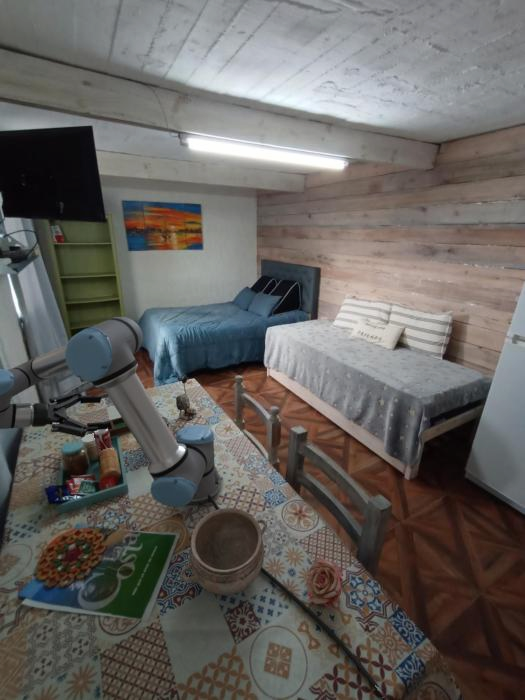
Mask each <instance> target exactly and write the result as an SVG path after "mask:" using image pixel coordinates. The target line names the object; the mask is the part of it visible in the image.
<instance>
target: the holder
mask: <svg viewBox="0 0 525 700" xmlns="http://www.w3.org/2000/svg"><path fill="white" fill-rule="evenodd" d="M104 422H108V423H109V424H108V427H107V428H108V430H109V433H110V438H113V437H115V436H119V435H122V434H125V433H127V432H131V431H130V430H129V428H128V426H127V425H126V423H125V422H124V420H123V419H122V417H121V416H120V417H116V418H113V419H110V420H106V421H104ZM92 433H95V432H94V431H91V434H92Z"/></svg>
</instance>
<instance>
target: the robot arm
mask: <svg viewBox="0 0 525 700" xmlns="http://www.w3.org/2000/svg"><path fill="white" fill-rule="evenodd" d="M143 335H144V334H143V331H142V328H141V326H140V325H139V324H138V323H137V322H136V321H135V320H133V319H132V318H129V317H125V316H113V317H110V318H108V319H106V320H104V321H101V322H99V323H97V324H94V325H91V326H89V327H86V328H84V329H83V330H81V331H79V332H77V333H75V334H74V335H73V336H71V338H70V339H69V340H68V342H67V343H66V344H65V345H63V346H61V347H58V348H56V349H52V350H51V351H48V352H46V353H44V354H42V355H39V356H36V357H33V358H30V359H28V360H27V361H25V362H23V363H21V364H18V365H17V366H15V367H12V368H10V369H4V368H0V430H8V429H23V428H25V429H27V428H30V427H32V428H40V427H41V428H42V427H46V426H48V425H51V427H50V432H51V433H62V434H66V435H69V436H74V437H79V438H85V436H86V434H87V432H92V431H97V430H101V429H107V427H108V424H109V423H108V422H105V421H101V422H87V424H85V423H83V422H81V421H77V420H75V419H73V418H71V417H69V415H68V413H67V410H68V409H69V408H71V407H72V406H75V405H77V404H78V403H79V402H80V404H100V403H101V401H102V398H103V397H102V395H82V393H81V392H79V391H78V390H77V391H73V392H69V393H66V394H63V395H60V396H57V397H56V396H55V397H49V399H48V403H47V402H35V403H33V404H32V403H31V402H25V403H24V402H23V403H22V402H21V403H11V401H12V398H13V397H15V396H17V395H18V394H20V393H22V392H24V391H26V390H28V389H29V388H31V387H33V386H35V385H37V384H39V383H42V382H43V381H46V380H49V379H50V378H53V377H55V376H56V377H57V376H58V375H61V374H64V373H66V372H68V371H70V372H71V373H72V374H73V375H74V376H75V377H77V378H80V380H82V381H84V382H91V384H92V386H93V387H94V388H97V389H102V390H104V392H105V393H106V395H107V396H108V398H109V399H110V402H111V403H112V404H113V406H114V407H115V409H116V411H117V412H118V414H119V415H120V417H122V419H123V420H124V422H125V423H126V425H127V426H128V428H129V430H130V431H129V432H130V433H131V434H132V436H133V438H134V439H135V441H136V442H137V444H138V446H139V447H140V449H141V450H142V452H143V453H144V455H145V456H146V458H147V460H148V462H149V463H148V465H147V471H148V473H149V475H150V476H151V478H152V479H153V481H152V482H151V485H150V494H151V496H152V498H153V499H154V500H155V501H156V502H157V503H159V504H161V505H163V506H167V507H169V508H170V507H171V508H181V507H185V506H186V505H188V504H190V505H191V504H192V505H197V504H203V503H206V502H208V501H210V503H211V505H212V506H213V507H214V509H215V510H218V509H221V508H220V507H219V505H218V504H217V503H216V501H215V500H214V499H213V498H214V497H215V496H217V494H218V493H219V491H220V489H221V485H222V484H221V475H220V474H219V472H218V469H217V467H216V465H215V437H214V432H213V430H212V429H211V428H210V427H208V426H207V425H203V424H189V425H185V426H183V427H181V428H180V429H179V430H178V431H177V432H176V437H175V436H174V435H173V433H172V431H171V430H170V427H169V428H168V426H167V425H166V423H165V421H164V419H163V418H162V414H161V413H160V411H159V408H157V405H156V404H155V403H154V401H153V399H152V397H151V395H150V394H149V392H148V391H147V389H146V387H145V385H144V383H143V382H142V380H141V379H140V377H139V375H138V374H137V370H138V366H139V363H138V362H137V359H136V357H135V356H134V355H135V354H136V353H137V352H138V351H139V350H140V349H141V347H142V345H143V340H144V337H143ZM260 572H261V573H262V574H263V575H264V576H265V577H266V578H268V579H269V580H270V581H271V582H273V584H275V585H276V586H277V587H278V588H279V589H280V590H282V591H283V592H284V593H285V594H286V595H287V596H288V597H290V599H291V600H293V601H294V603H296V604H297V605H298V606H299V607H301V609H303V610H304V611H305V612H306V613H307V614H308V615H309V616H310V617H311V618H312V619H313V620H314V621H315V622H316V623H317V624H318V625H319V626H320V628H322V629H323V630H324V631H325V632H326V633H327V634H328V635H329V636H330V638H331V639H332V640H333V641H334V642H335V643H336V644H337V645H338V646H339V647H340V649H341V650H342V651H343V652H344V653H345V654H346V655H347V657H348V658H349V659H350V660H351V662H352V663H353V664H354V665H355V666H356V667H357V669H358V670H359V671H360V672H361V673H362V675H363V676H364V677H365V679H366V680H367V681H368V682H369V684H370V685H371V686H372V687H373V689H374V690H375V691H376V693H377V694H378V695H379V697H380V698H381V700H385V699H384V698H382V697H383V696H382V695H381V694H380V692H379V691H378V690H377V688H376V687H375V685H376V686H377V685H378V686H379V684H378V683H377V682H376V680H375V679H374V678H373V677H372V675H371V674H370V672H368V670H367V669H366V668H365V666H364V665H363V664H362V662H360V660H358V658H357V657H356V656H355V655H354V653H353V652H352V651H351V650H350V649H349V648H348V646H346V645H345V644H344V642H343V641H342V640H341V639H340V638H339V636H337V635H336V633H334V631H332V629H331V628H330V627H329V626H328V625H327V624H326V623H325V622H324V621H323V620H321V618H320V617H319V616H318V615H316V613H314V611H313V610H312V609H310V607H309V606H307V605H306V604H305V602H303V601H302V600H301V599H299V598H298V597H297V596H296V595H295V594H294V593H293V592H292V591H291V590H289V589H288V588H287V587H286V586H285V585H283V583H281V582H280V581H279V580H278V579H277V578H276V577H274V576H273V575H272V574H271V573H270V572H269V571H267V570H266V569H265V568H264V567H263V566H262V568H261V570H260ZM378 686H377V687H378ZM381 690H382V691H383V689H382V688H381ZM384 694H385V695H386V693H385V692H384ZM387 698H388V699H389V697H388V696H387Z"/></svg>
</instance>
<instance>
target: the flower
mask: <svg viewBox="0 0 525 700" xmlns="http://www.w3.org/2000/svg"><path fill="white" fill-rule="evenodd" d="M343 577H344V573H343V572H342V569H341V568H339V566H338V565H337V564H336V563H335V562H334V561H329V560H327V559H324V558H322V557H316V558H315V559H314V561H313V564H312V565H311V566H310V568H309V570H308V574H307V583H306V584H307V585H306V587H307V596H308V597H309V599H310V601H311V602H312V603H313V604H315V605H323V606H326V608H327V609H330V608H331V609H332V608H333V607H332V606H333V605H335V604H337V603H338V602H339V601H341V597H340V595H341V594H342V595H344V594H343V592H342V584H343V581H344V579H343ZM340 593H341V594H340Z"/></svg>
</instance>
